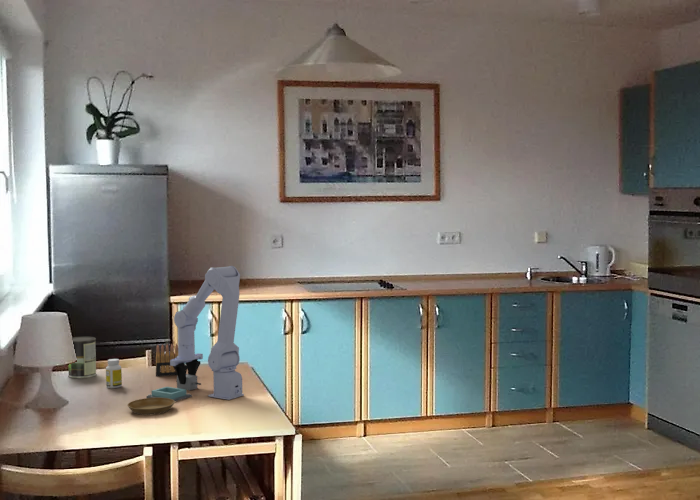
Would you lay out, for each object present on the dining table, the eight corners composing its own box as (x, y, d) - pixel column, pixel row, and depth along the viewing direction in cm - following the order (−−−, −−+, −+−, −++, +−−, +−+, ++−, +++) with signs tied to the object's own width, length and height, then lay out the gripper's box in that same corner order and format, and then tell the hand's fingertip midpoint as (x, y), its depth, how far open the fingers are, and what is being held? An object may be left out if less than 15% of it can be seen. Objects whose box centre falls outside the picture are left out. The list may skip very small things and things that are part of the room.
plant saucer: (128, 418, 264) (127, 410, 263) (127, 407, 278) (127, 399, 278) (176, 415, 268) (176, 406, 267) (173, 403, 282) (173, 396, 282)
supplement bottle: (124, 385, 308) (123, 358, 307) (118, 388, 303) (117, 361, 302) (109, 385, 309) (108, 358, 308) (103, 388, 303) (103, 361, 302)
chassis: (191, 396, 290) (191, 389, 290) (172, 402, 283) (172, 395, 282) (166, 392, 297) (165, 385, 297) (146, 397, 289) (146, 390, 289)
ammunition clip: (156, 376, 323) (155, 345, 322) (155, 375, 324) (155, 344, 324) (184, 374, 326) (184, 343, 325) (184, 373, 327) (183, 342, 327)
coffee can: (70, 379, 318) (69, 341, 317) (66, 374, 327) (65, 337, 326) (98, 376, 322) (97, 339, 321) (94, 371, 332) (93, 335, 331)
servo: (204, 389, 301) (204, 375, 301) (196, 391, 298) (196, 377, 297) (182, 385, 307) (182, 371, 306) (174, 388, 303) (174, 373, 303)
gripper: (192, 340, 310) (192, 377, 311) (163, 346, 298) (164, 385, 299) (206, 342, 306) (207, 379, 307) (178, 348, 294) (178, 387, 295)
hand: (187, 382), depth 303 cm, fingers closed on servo, 4 cm apart
